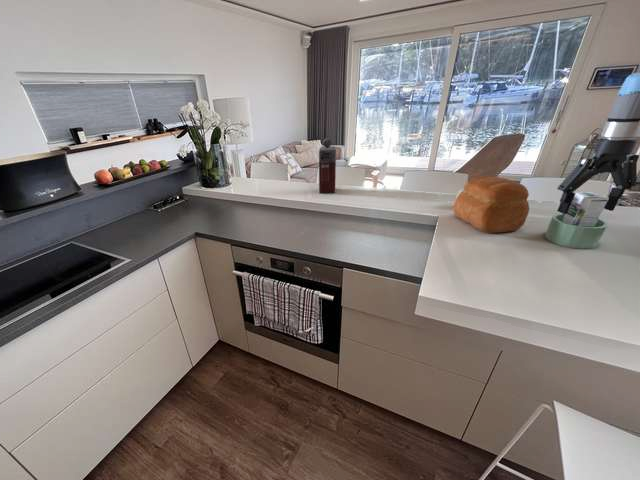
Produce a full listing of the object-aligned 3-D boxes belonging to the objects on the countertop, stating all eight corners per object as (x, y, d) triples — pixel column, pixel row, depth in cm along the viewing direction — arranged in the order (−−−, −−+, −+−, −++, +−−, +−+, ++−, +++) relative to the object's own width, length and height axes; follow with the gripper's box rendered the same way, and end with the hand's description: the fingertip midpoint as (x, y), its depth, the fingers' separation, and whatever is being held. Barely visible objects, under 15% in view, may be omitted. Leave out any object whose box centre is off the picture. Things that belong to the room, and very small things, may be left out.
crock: (573, 230, 100) (582, 212, 97) (608, 247, 89) (620, 226, 86) (535, 233, 101) (542, 214, 98) (565, 249, 90) (575, 229, 86)
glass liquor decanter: (319, 194, 159) (318, 140, 145) (319, 189, 169) (318, 138, 155) (335, 194, 158) (336, 139, 144) (334, 188, 167) (335, 136, 153)
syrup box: (554, 234, 98) (573, 192, 90) (574, 233, 97) (595, 191, 89) (566, 241, 93) (587, 197, 85) (587, 241, 92) (610, 197, 85)
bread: (481, 235, 102) (495, 189, 94) (447, 215, 121) (456, 174, 112) (529, 231, 103) (547, 184, 94) (487, 211, 121) (500, 170, 113)
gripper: (652, 132, 82) (615, 204, 92) (560, 140, 83) (534, 209, 94) (683, 135, 75) (639, 212, 86) (583, 143, 77) (552, 218, 88)
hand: (584, 211), depth 90 cm, fingers open, 13 cm apart
